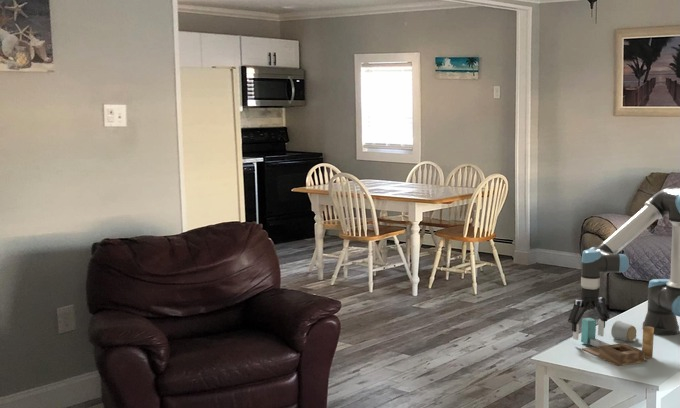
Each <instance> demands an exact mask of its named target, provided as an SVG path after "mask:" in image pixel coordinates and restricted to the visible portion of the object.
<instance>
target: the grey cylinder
mask: <svg viewBox="0 0 680 408" xmlns="http://www.w3.org/2000/svg"><path fill="white" fill-rule="evenodd" d="M610 331H611V337H612V338H613V339H617V340H620V341H624V342H629V343H630V342H633V341H634V340H635V339H636V338H637V329H636V327H635V325H632V324H629V323H627V322H623V321H621V320H616V321H614V323H613V324H612V326H611V329H610Z"/></svg>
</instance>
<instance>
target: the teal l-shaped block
mask: <svg viewBox="0 0 680 408" xmlns="http://www.w3.org/2000/svg"><path fill="white" fill-rule="evenodd" d="M596 327H597V320H596V319H594V318H592V317H585V318H584V317H583V318H581V334H580V336H581V339H580V343H582V344H585V345H590V346H591V347H597V348H600V346H606V345H611V344H609V343H607V342H605V341H602V340H601V339H597V338H596V333H597V332H596V330H597V329H596ZM614 349H615V350H616V348H614Z"/></svg>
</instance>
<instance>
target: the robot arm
mask: <svg viewBox="0 0 680 408" xmlns="http://www.w3.org/2000/svg"><path fill="white" fill-rule="evenodd" d="M667 215H668V222H669V223H670V224H671V225H672V228H671V250H670V251H671V253H670V254H671V255H670V277H669V278H670V279H669V278H654V279H651V280H649V282H648V288H647V290H648V294H647V295H648V296H647V311H646V314H645V317H644V321H643V322H642V325H641V326H642V328H641V329H642V330H643V327H645V326H649V327H653V328H654V335H661V336H662V335H664V336H669V335H670V336H671V335H672V336H673V335H677V334H679V333H680V326H679V323H678V319H677V317H680V187H677V186H668V187H665V188H663V189H661V190H659V191H658V192H657V193H655V194H653V195H652V196H650V198H649V199H648V200H646V201H645V202H644V206H643V207H642V208H641V209H639V211H637V212H636V213H635V214H634V215H632V217H630V218H629V219H628V220H627V221H626V222H625V223H623V224H622V225H621V226H620V227H619V228H618V229H617V230H615V231H614V232H613V233H612V234H611V235H609V236H608V237H607V239H605V240H604V241H603V242H601V243H600V244H599V245H598V246H592V247H590V248H588V249H584V250H583V251H582V255H581V272H580V273H581V277H580V286H581V287H580V298H581V299H574V302H573V306H572V309H571V312H570V314H569V316H568V319H567V322H568V323H570V324H571V331H572V339H574V340H576V341H578V340H579V335H580V334H579V333H580V331H579V329H580V324H579V322H580V320H582V317H583V315H584V314H585V313H586V312H587V310H588V311H589V310H594V312H595V313H596V315H597V316H598V321H597V324H598V325H597V336H600V337H604V336H605V335H604V334H605V333H604V331H605V327H606V322H608V320H609V319H611V317H610V313H609V310H608V309H607V305H606V299H605V298H604V297H602V296H600V287H601V274H602V273H603V274H604V273H608V274H611V273H619V274H620V273H624V272H627V271H628V269H629V266H630V260H629V257H628V256H627V255H626V254H625V253H620V252H621V251H622V250H623V249H624V248H626V247H627V246H628V245H629V244H630V243H631V242H632V241H633V240H635V239H636V238H637V237H638V236H639V235H640V234H642V233H643V232H644V231H645V230H646V229H647V228H649V227H650V226H651V225H652V224H653V223H654V222H655V221H657V220H661V219H663V218H664V217H665V216H667Z"/></svg>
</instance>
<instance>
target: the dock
mask: <svg viewBox="0 0 680 408" xmlns="http://www.w3.org/2000/svg"><path fill="white" fill-rule="evenodd" d="M614 348H616V350H615V349H614ZM581 350H582V351H584V352H586V353H589V354H591V355H593V356H595V357H598V358H600V359H602V360H604V361H606V362H609V363H611V364H612V365H613V364H614V365H615V366H618V367H621V366H627V365H633V364H640V363H645V362H648V360H647V359H646V358H645V351H642V349H640V348H637V347H635V346H632V345H630V344H627V343H624V342H621V343H615V344H614V343H612V344H610V345H606V346H600V348H597V347H595V346H588V347H582V348H581Z"/></svg>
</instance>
